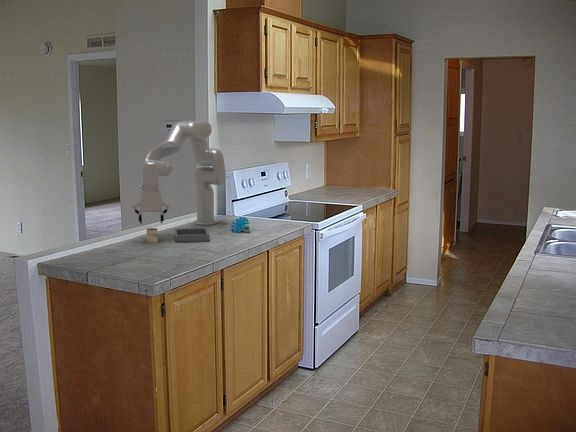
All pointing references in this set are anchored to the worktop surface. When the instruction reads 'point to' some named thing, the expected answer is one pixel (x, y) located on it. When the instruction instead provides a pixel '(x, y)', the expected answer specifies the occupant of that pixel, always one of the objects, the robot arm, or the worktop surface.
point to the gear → (240, 225)
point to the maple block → (152, 235)
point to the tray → (191, 235)
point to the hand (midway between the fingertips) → (151, 223)
